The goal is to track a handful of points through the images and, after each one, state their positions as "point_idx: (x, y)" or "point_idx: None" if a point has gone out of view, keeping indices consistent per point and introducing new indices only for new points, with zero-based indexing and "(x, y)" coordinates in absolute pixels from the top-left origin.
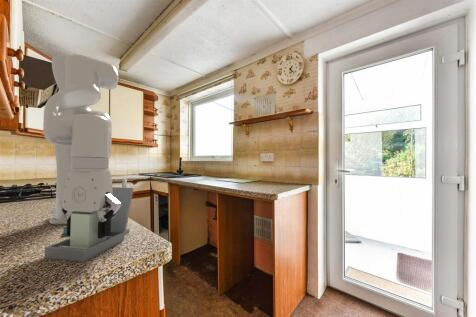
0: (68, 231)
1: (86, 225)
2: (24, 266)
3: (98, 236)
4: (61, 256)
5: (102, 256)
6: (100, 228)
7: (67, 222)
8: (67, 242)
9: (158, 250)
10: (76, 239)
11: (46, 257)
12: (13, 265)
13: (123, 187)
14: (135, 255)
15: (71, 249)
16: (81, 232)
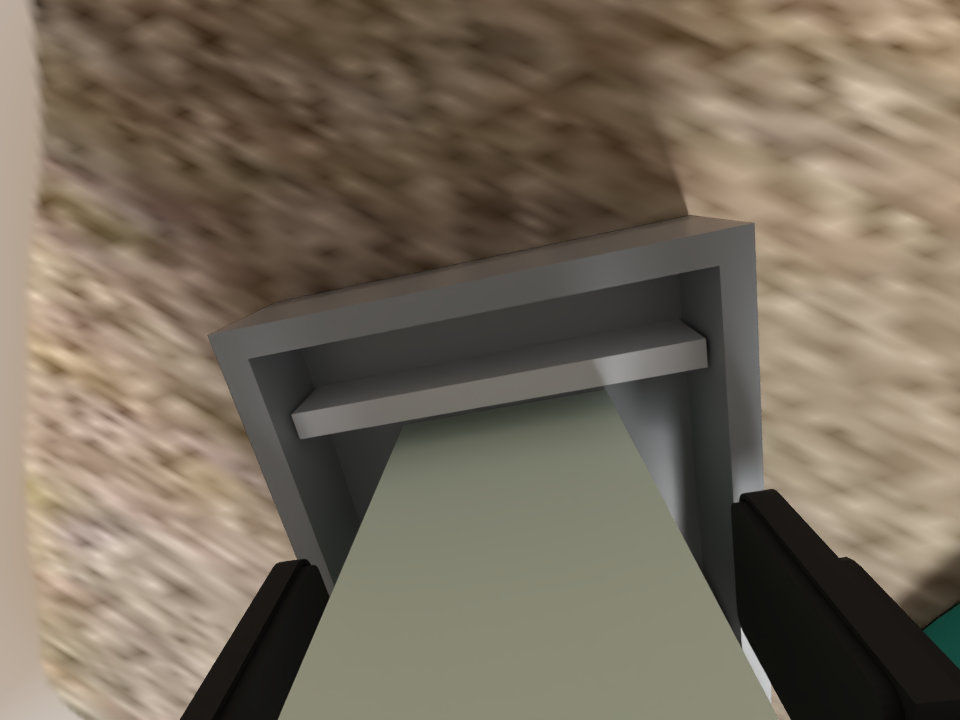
0: (772, 527)
1: (356, 649)
2: (763, 74)
3: (284, 572)
4: (496, 263)
5: None
6: (213, 671)
7: (904, 645)
8: (716, 443)
9: (47, 647)
10: (541, 466)
11: (679, 221)
12: (904, 36)
13: None
14: (106, 547)
15: (378, 313)
16: (463, 539)
